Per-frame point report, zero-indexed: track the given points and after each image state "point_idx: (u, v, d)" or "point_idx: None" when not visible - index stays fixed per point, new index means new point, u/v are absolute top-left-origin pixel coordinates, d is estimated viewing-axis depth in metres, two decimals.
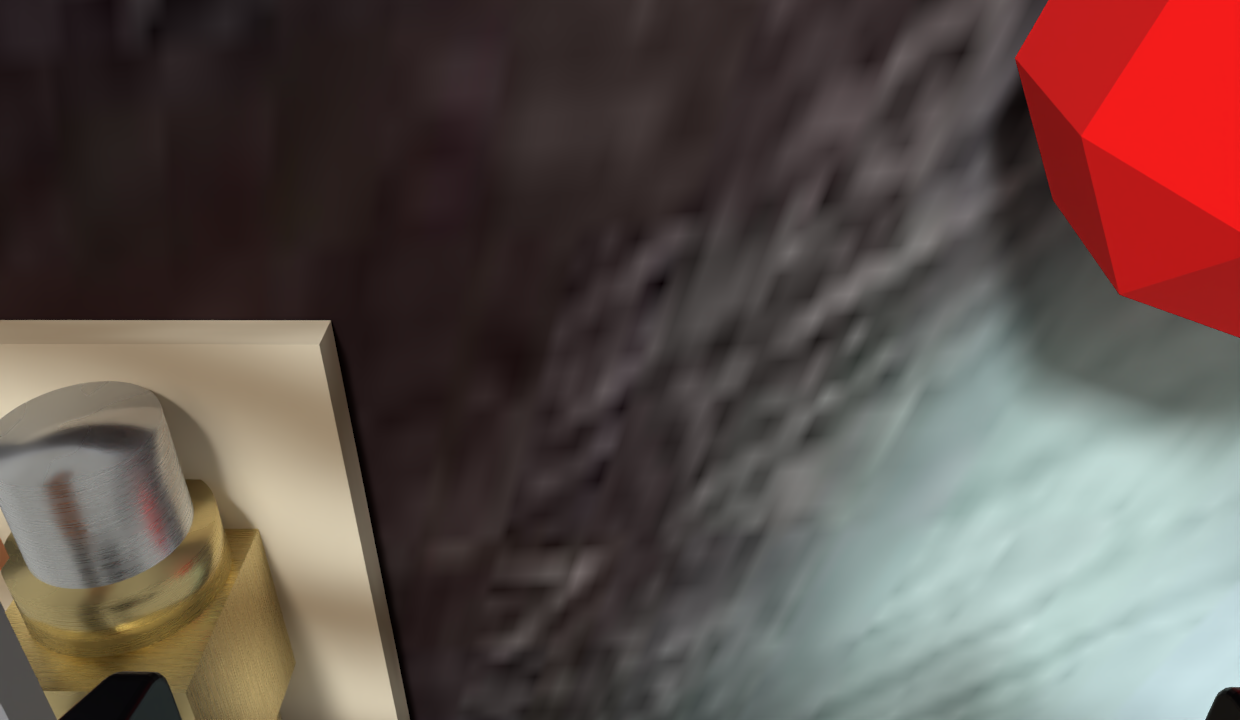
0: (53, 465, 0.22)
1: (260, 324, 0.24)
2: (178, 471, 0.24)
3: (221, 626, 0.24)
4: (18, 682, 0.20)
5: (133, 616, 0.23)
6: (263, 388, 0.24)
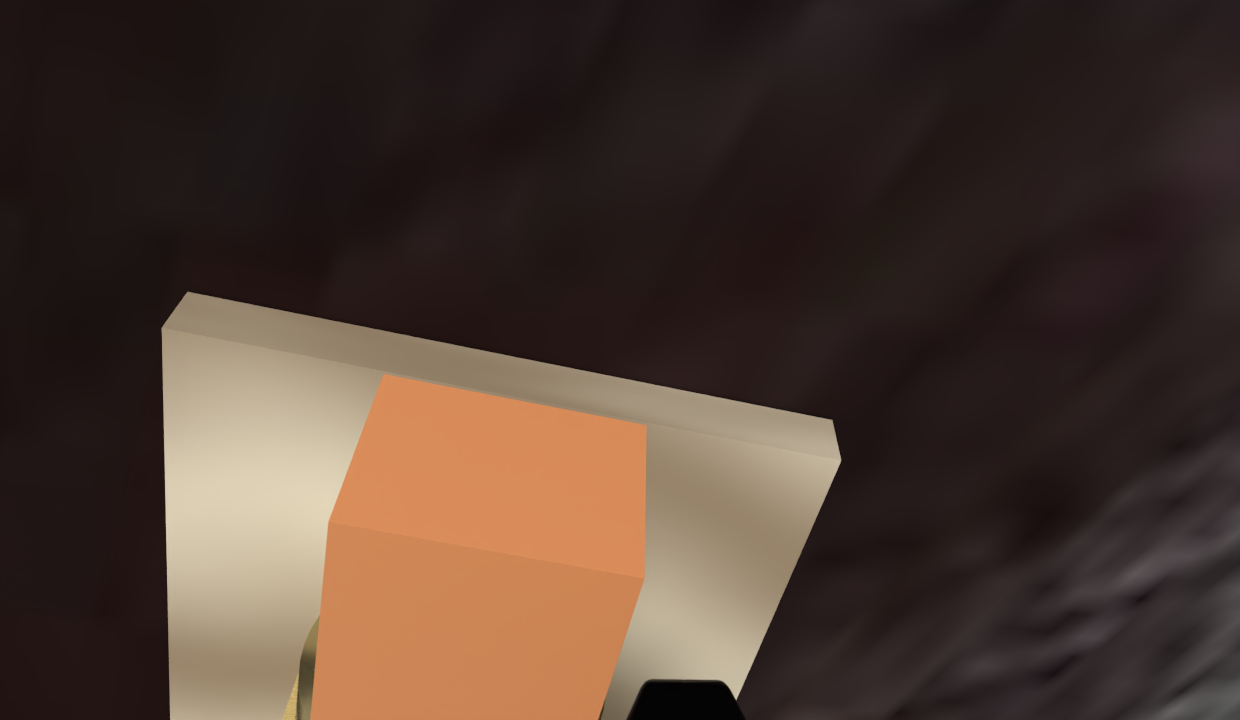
0: None
1: (737, 407, 0.17)
2: None
3: None
4: None
5: None
6: (723, 500, 0.17)
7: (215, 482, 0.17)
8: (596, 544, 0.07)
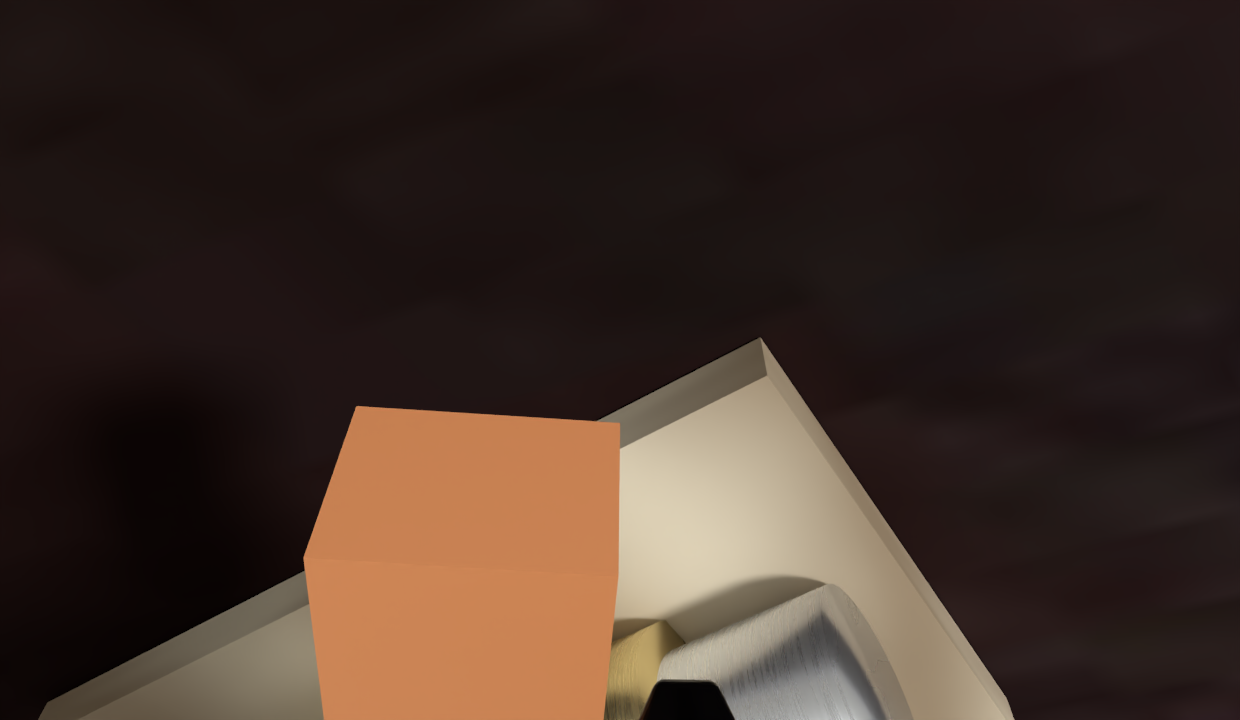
0: None
1: (979, 661, 0.20)
2: None
3: None
4: None
5: None
6: None
7: (634, 487, 0.17)
8: (569, 547, 0.07)
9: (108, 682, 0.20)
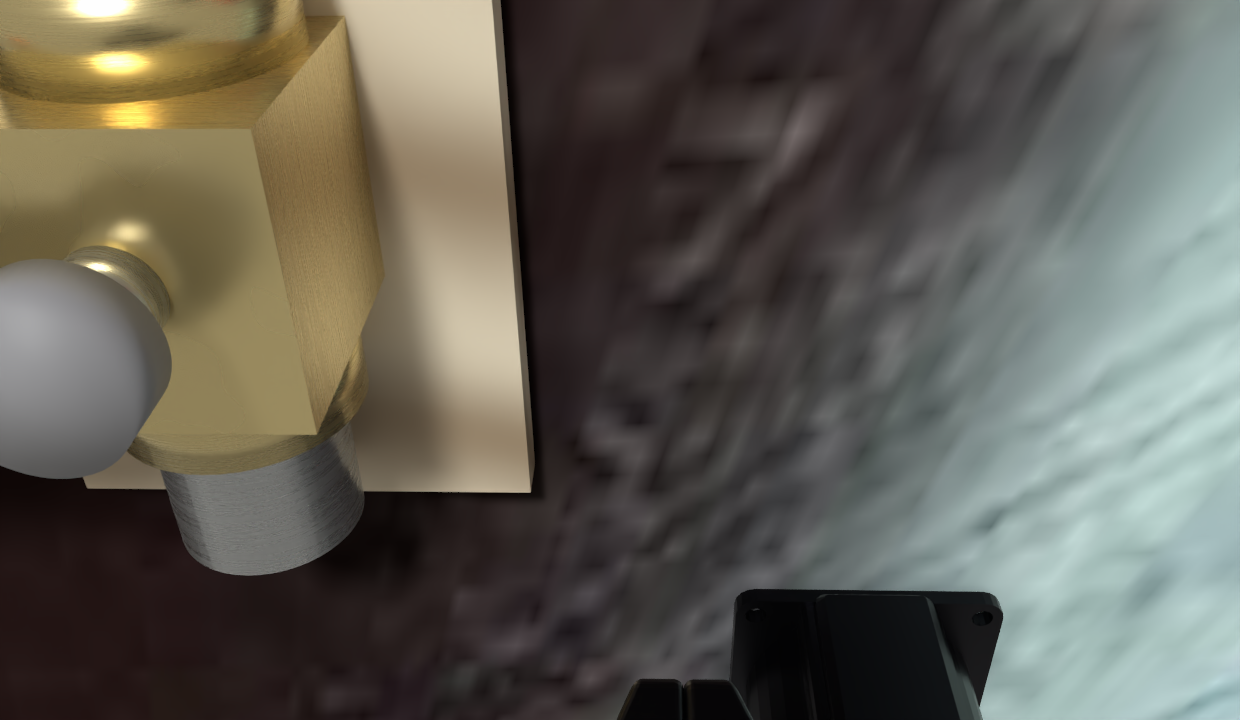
0: None
1: None
2: None
3: (299, 93, 0.16)
4: None
5: (165, 26, 0.14)
6: None
7: None
8: None
9: None
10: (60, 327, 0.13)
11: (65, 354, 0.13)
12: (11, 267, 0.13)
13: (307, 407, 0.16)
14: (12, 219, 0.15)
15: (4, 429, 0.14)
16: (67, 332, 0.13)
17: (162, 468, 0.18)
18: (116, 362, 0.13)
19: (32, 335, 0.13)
